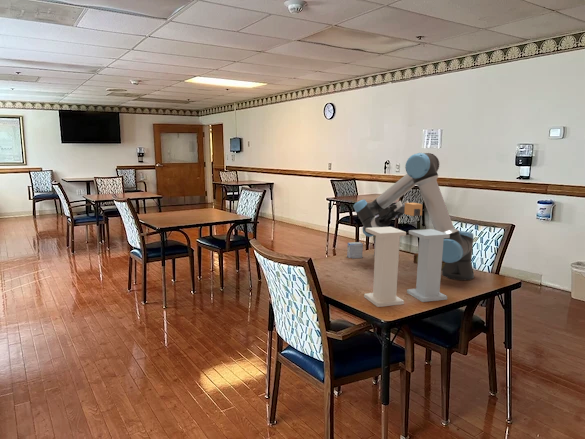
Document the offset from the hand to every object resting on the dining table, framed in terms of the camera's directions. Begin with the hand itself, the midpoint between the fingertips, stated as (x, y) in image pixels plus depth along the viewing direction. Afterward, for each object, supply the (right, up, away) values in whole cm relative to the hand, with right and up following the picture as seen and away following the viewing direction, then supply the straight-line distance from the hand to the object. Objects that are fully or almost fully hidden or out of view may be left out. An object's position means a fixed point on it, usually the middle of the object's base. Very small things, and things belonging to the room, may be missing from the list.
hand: (404, 203), depth 198 cm
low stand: (+6, -41, -9) cm, 42 cm away
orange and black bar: (0, -4, 0) cm, 4 cm away
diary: (+31, -33, +42) cm, 62 cm away
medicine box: (-15, -30, +52) cm, 62 cm away
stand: (-14, -41, -16) cm, 46 cm away
